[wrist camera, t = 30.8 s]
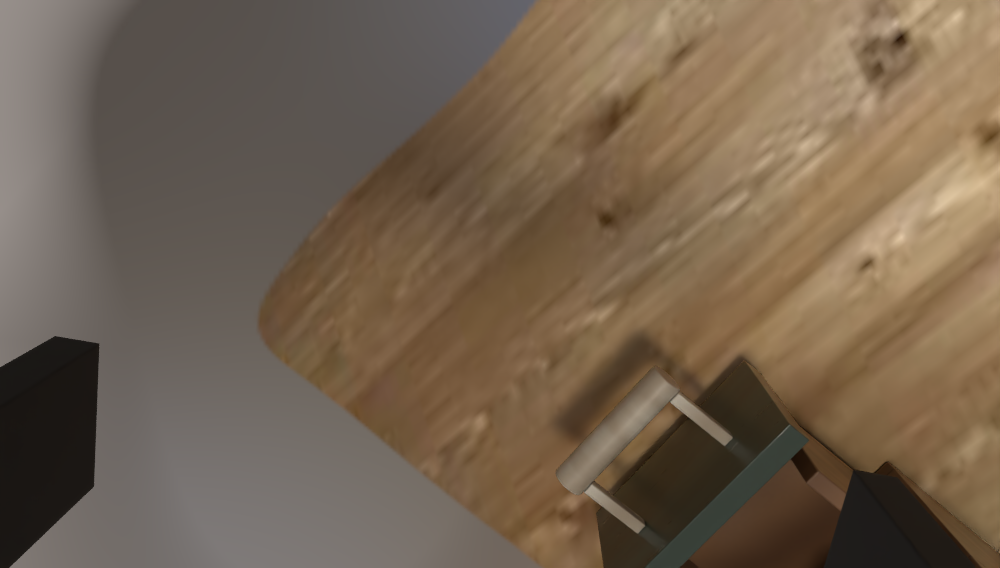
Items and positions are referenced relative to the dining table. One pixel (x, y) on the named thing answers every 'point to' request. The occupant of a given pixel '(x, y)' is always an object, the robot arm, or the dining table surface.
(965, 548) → the cabinet
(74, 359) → the robot arm
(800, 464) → the drawer
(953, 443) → the dining table surface
